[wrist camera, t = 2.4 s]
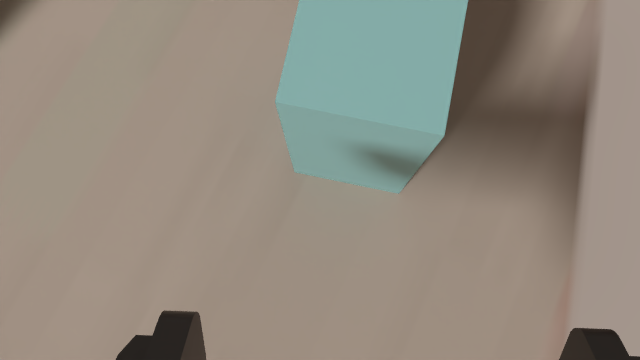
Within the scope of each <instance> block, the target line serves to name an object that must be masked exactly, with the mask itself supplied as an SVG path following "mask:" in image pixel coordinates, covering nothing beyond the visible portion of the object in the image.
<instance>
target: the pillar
mask: <svg viewBox="0 0 640 360" xmlns="http://www.w3.org/2000/svg"><path fill="white" fill-rule="evenodd" d="M467 4H468V0H299V4H298V8H297V12H296V16H295V21H294V25H293V29H292V33H291V37H290V42H289V46H288V50H287V54H286V58H285V63H284V67H283V71H282V75H281V79H280V83H279V88H278V92H277V96H276V100H275V103H276V107H277V111H278V114H279V118H280V121H281V125H282V129H283V132H284V136H285V139H286V143H287V146H288V150H289V154H290V157H291V161H292V164H293V168H294V172H296V173H301V174H306V175H311V176H316V177H321V178H325V179H330V180H335V181H340V182H345V183H350V184H355V185H359V186H364V187H369V188H374V189H379V190H384V191H389V192H393V193H398V194H399V193H400V192H401V190H402V189H403V188H404V186H405V185H406V184H407V183H408V181H409V180H410V179H411V178H412V176H413V175H414V174H415V172H416V171H417V170H418V169H419V167H420V166H421V165H422V164H423V162H424V161H425V160H426V159H427V157H428V156H429V155H430V153H431V152H432V151H433V150H434V148H435V147H436V146H437V145H438V143H439V142H440V141H441V139H442V138H443V137H444V135H445V130H446V124H447V118H448V112H449V107H450V101H451V95H452V89H453V84H454V78H455V72H456V67H457V61H458V55H459V49H460V44H461V38H462V32H463V27H464V21H465V15H466V9H467Z"/></svg>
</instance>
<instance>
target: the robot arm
mask: <svg viewBox="0 0 640 360" xmlns="http://www.w3.org/2000/svg"><path fill="white" fill-rule="evenodd" d="M116 360H206V353H205V346H204V340H203V333H202V327H201V320H200V315H199V313H198V312H187V311H163V312H162V313H161V315H160V317H159V319H158V322H157V325H156V328H155V330H154V333H153V336H146V335H136V336H135V337H134V338H133V339H132V340H131V341H130V342H129V343H128V344H127V345H126V346H125V348H124V349H123V350H122V351H121V352H120V353H119V354H118V356H117V358H116ZM559 360H640V357H637V356H629V355H628V353H627V351H626V349H625V347H624V345H623V343H622V341H621V340H620V338H619V336H618V335H617V333H616V332H615V331H613V330H611V329H588V328H574V329H573V330H572V331H571V332H570V334H569V337H568V339H567V342H566V344H565V347H564V349H563V351H562V354H561V356H560V359H559Z"/></svg>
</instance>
